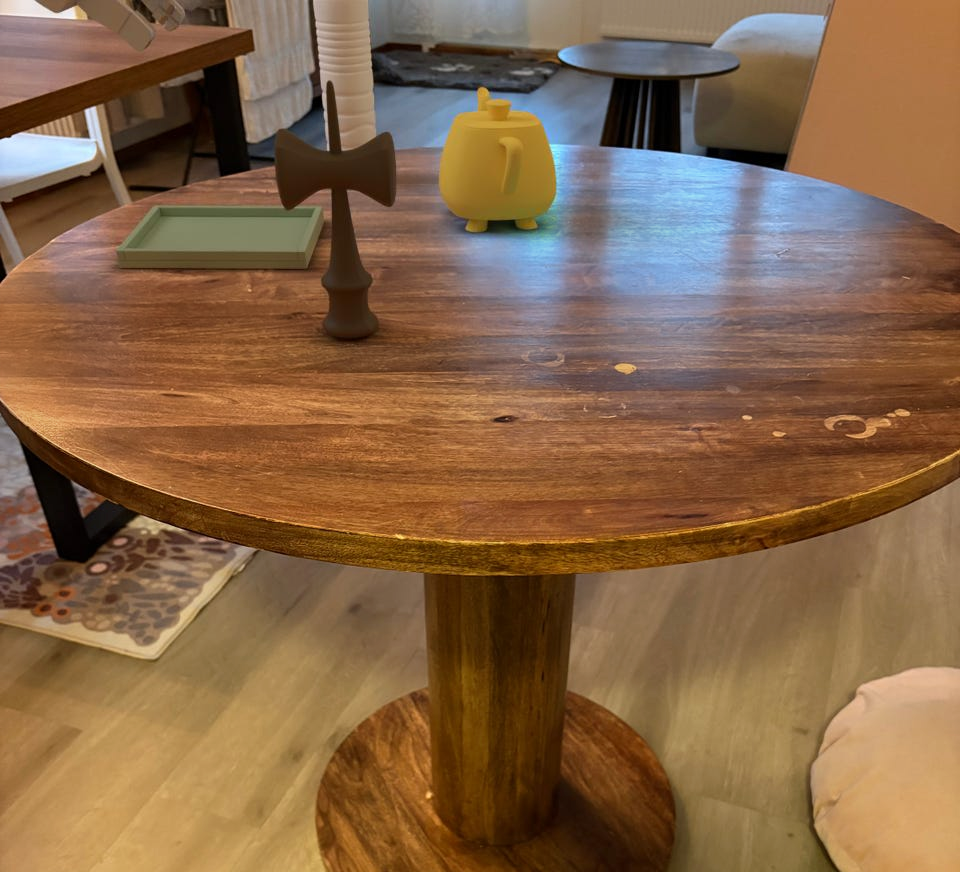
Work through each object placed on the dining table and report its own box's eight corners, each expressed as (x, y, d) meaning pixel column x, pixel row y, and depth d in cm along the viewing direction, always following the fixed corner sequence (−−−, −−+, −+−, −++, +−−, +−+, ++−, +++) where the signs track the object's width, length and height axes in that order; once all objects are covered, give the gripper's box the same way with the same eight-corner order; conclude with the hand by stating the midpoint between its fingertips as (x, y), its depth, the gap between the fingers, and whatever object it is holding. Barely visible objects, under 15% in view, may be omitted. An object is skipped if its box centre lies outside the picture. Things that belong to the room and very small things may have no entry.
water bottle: (327, 175, 123) (305, -59, 106) (375, 173, 124) (361, -59, 107) (333, 194, 116) (311, -52, 100) (384, 191, 117) (370, -53, 101)
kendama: (302, 319, 86) (272, 72, 73) (404, 318, 86) (393, 72, 73) (294, 345, 81) (260, 88, 68) (402, 345, 82) (390, 88, 69)
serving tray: (119, 268, 96) (115, 250, 94) (157, 221, 107) (153, 205, 106) (307, 269, 96) (305, 251, 95) (324, 222, 108) (322, 206, 106)
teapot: (530, 190, 118) (534, 79, 110) (571, 241, 103) (579, 117, 95) (427, 195, 116) (424, 83, 108) (454, 248, 101) (452, 122, 93)
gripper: (-55, -187, 53) (154, 16, 60) (59, -179, 68) (215, -19, 75) (-101, -89, 56) (103, 94, 62) (19, -103, 71) (172, 46, 78)
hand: (165, 32), depth 69 cm, fingers open, 8 cm apart
